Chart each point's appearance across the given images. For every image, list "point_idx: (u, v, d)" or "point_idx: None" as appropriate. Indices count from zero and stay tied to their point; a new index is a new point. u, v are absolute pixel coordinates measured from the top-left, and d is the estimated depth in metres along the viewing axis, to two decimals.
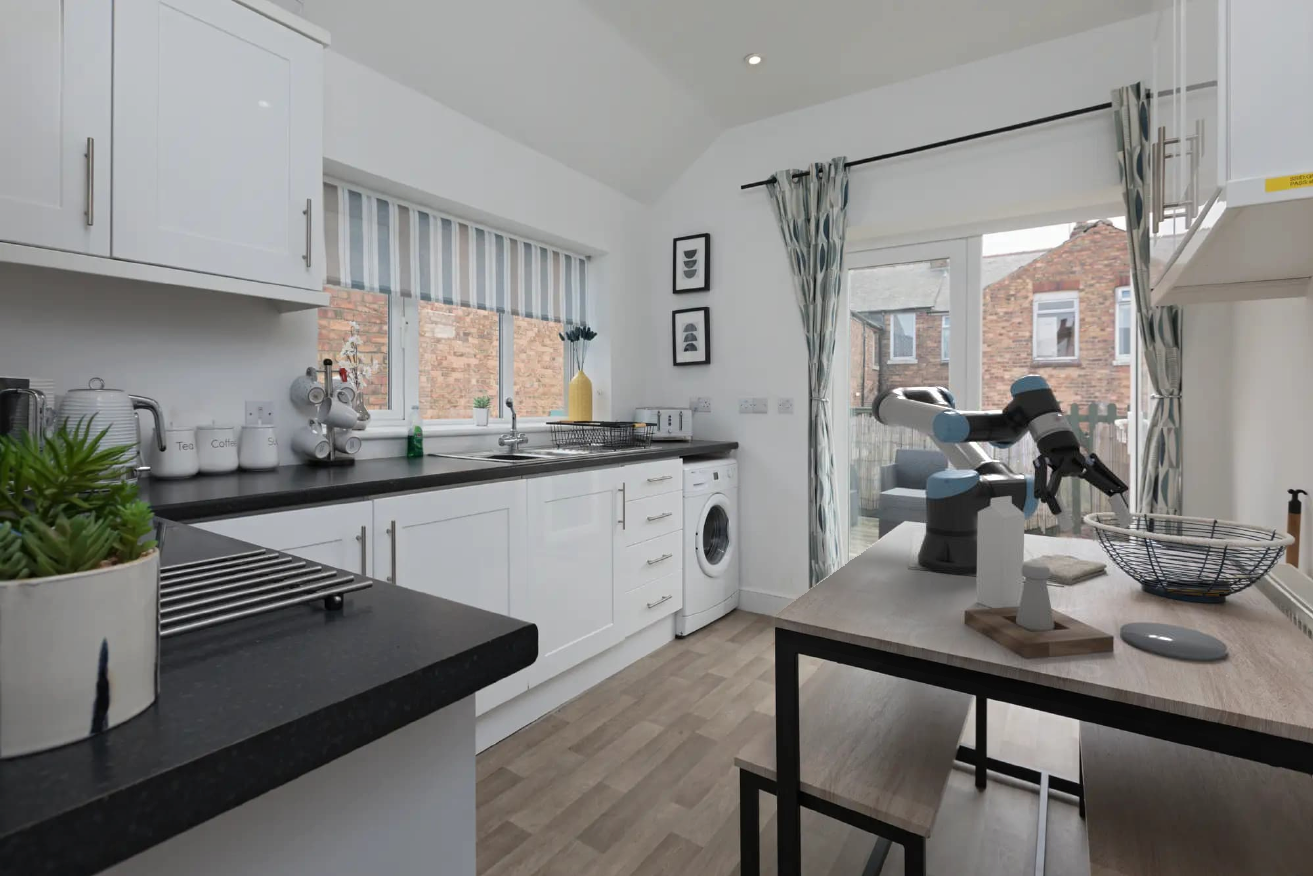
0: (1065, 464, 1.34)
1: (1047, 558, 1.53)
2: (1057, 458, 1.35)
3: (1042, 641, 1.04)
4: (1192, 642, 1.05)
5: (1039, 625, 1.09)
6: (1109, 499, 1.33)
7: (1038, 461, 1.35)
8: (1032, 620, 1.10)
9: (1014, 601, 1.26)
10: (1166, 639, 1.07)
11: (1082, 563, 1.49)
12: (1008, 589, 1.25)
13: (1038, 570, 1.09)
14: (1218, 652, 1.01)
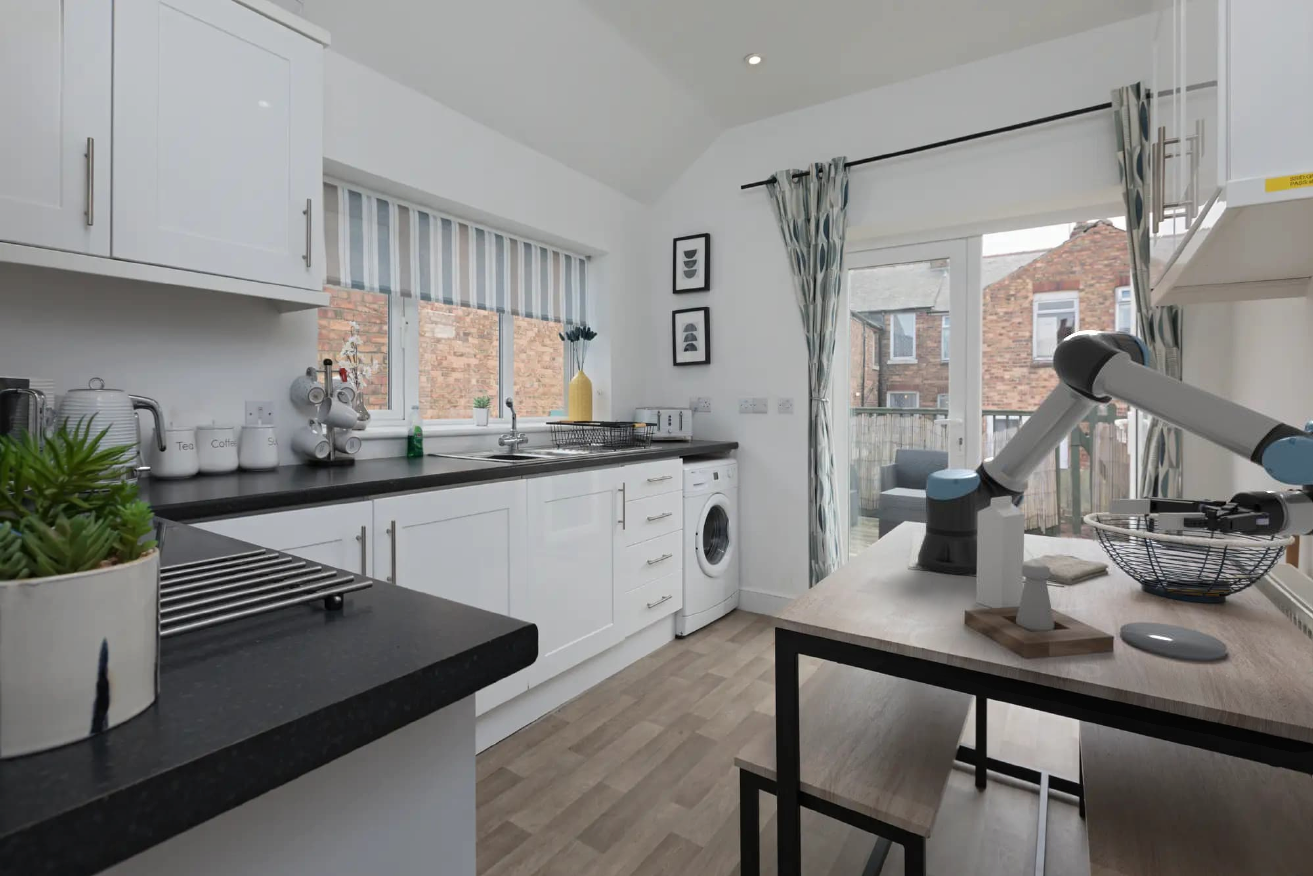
0: None
1: (1048, 558, 1.53)
2: None
3: (1042, 641, 1.04)
4: (1192, 642, 1.05)
5: (1039, 625, 1.09)
6: (1148, 502, 1.16)
7: (1263, 525, 1.02)
8: (1032, 620, 1.10)
9: (1014, 601, 1.26)
10: (1166, 639, 1.07)
11: (1083, 563, 1.49)
12: (1008, 589, 1.25)
13: (1038, 570, 1.09)
14: (1218, 652, 1.01)
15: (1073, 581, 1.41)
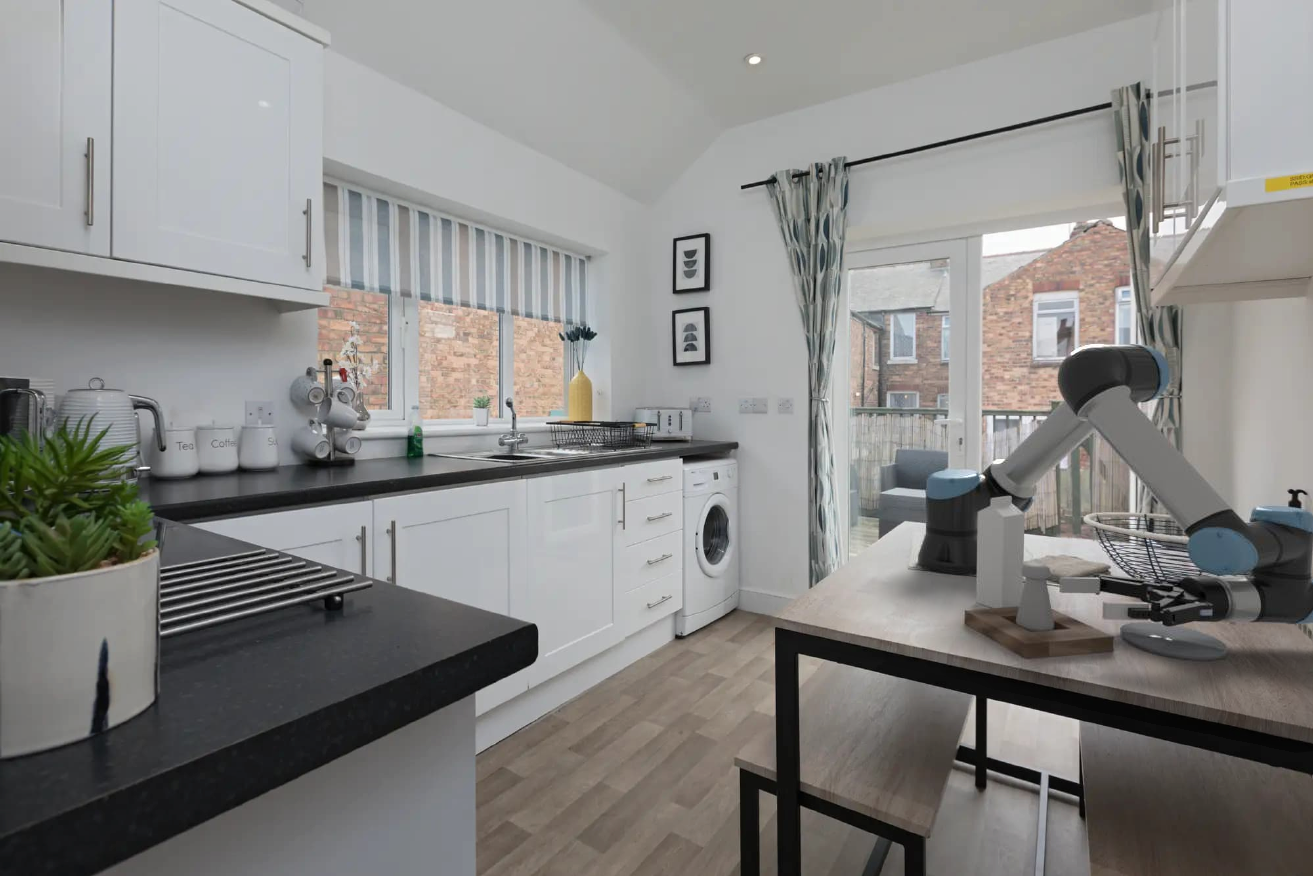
0: None
1: (1050, 558, 1.53)
2: None
3: (1042, 641, 1.04)
4: (1192, 642, 1.05)
5: (1039, 625, 1.09)
6: (1098, 581, 1.16)
7: (1206, 615, 1.02)
8: (1032, 620, 1.10)
9: (1014, 601, 1.26)
10: (1166, 639, 1.07)
11: (1085, 564, 1.48)
12: (1008, 589, 1.25)
13: (1038, 570, 1.09)
14: (1218, 652, 1.01)
15: None
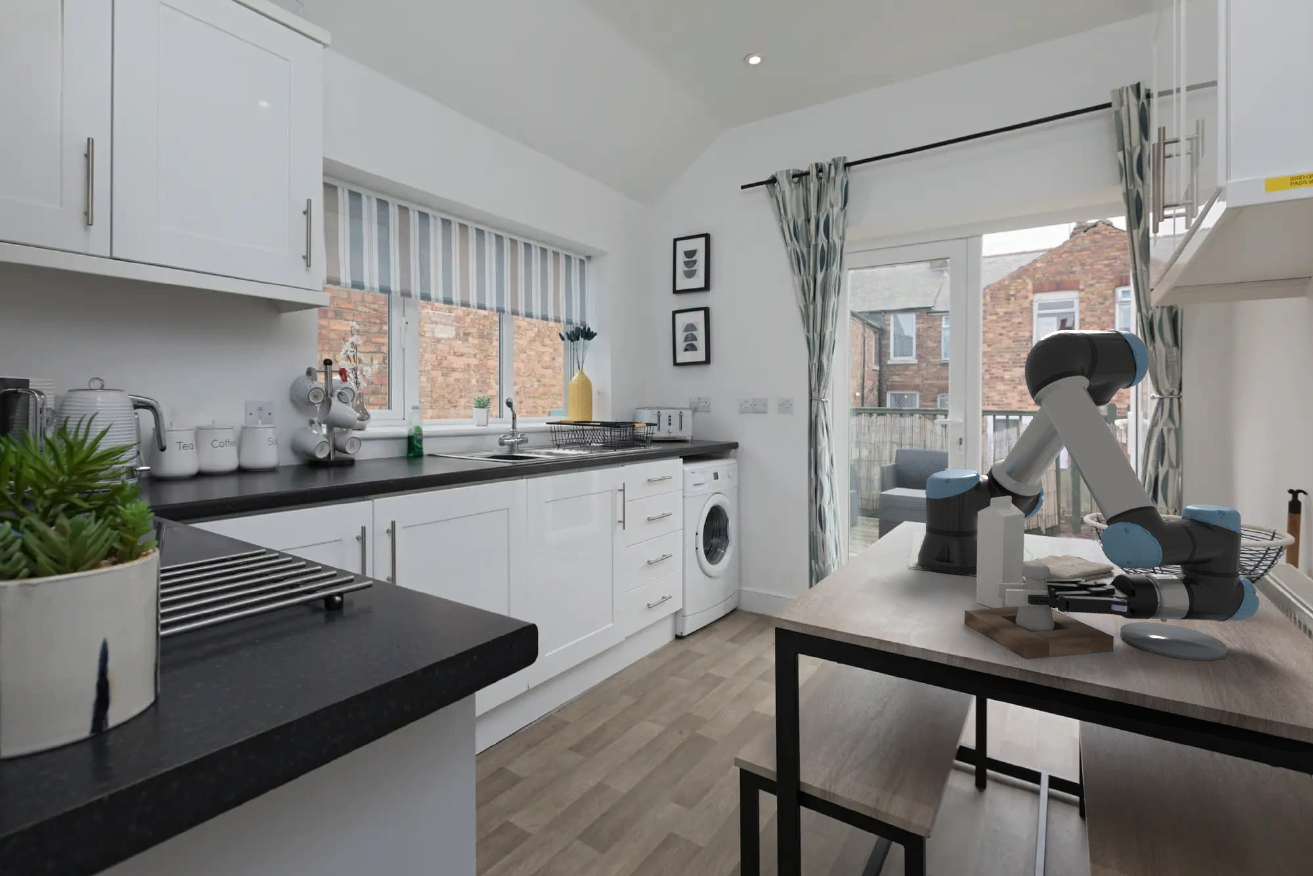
0: None
1: (1053, 558, 1.53)
2: None
3: (1042, 641, 1.04)
4: (1192, 642, 1.05)
5: (1039, 625, 1.09)
6: None
7: (1118, 611, 1.04)
8: (1032, 620, 1.10)
9: None
10: (1166, 639, 1.07)
11: (1087, 564, 1.48)
12: None
13: (1038, 570, 1.09)
14: (1218, 652, 1.01)
15: None
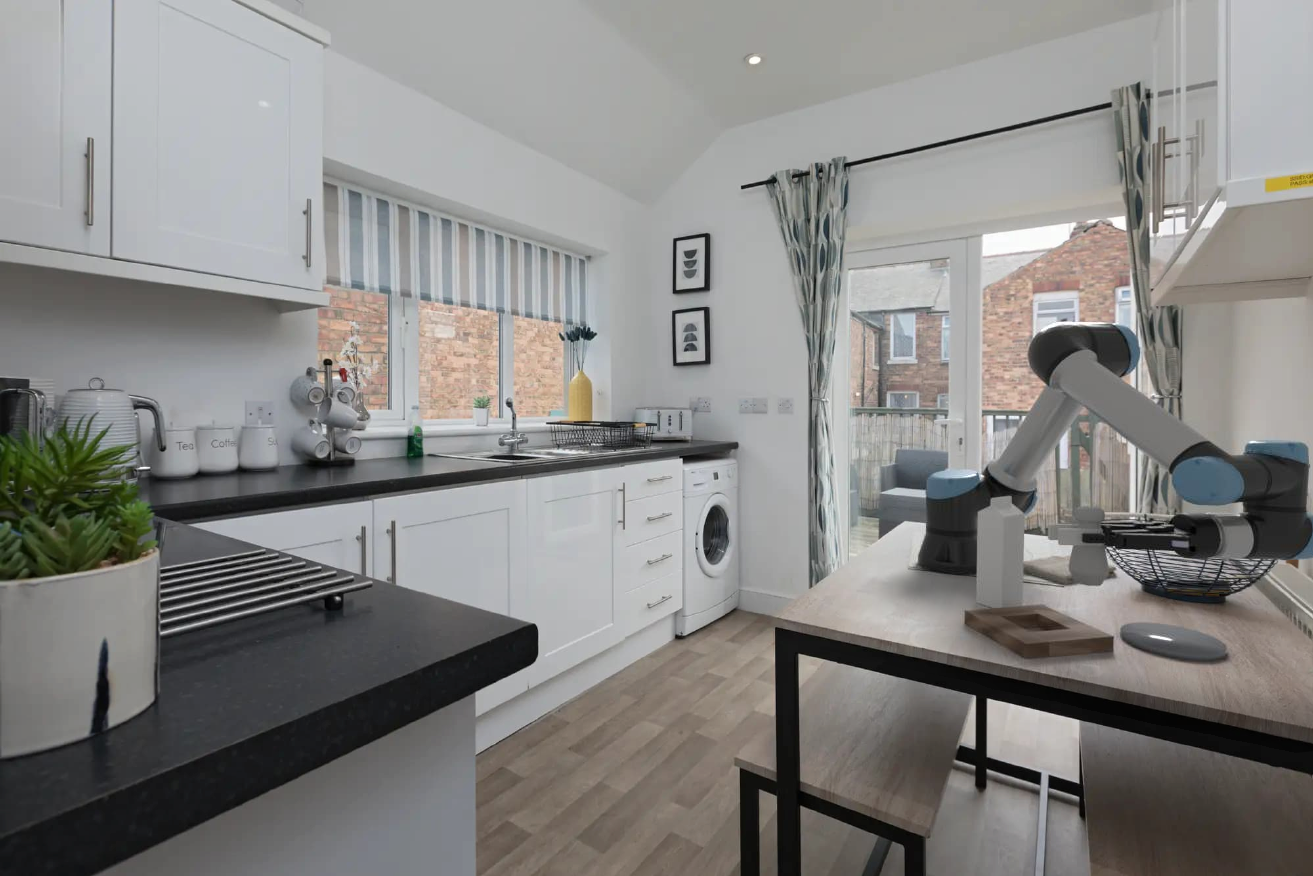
0: None
1: (1055, 558, 1.53)
2: None
3: (1042, 641, 1.04)
4: (1192, 642, 1.05)
5: (1095, 569, 1.05)
6: None
7: (1179, 547, 1.00)
8: (1088, 564, 1.06)
9: (1014, 601, 1.26)
10: (1166, 639, 1.07)
11: None
12: (1008, 589, 1.25)
13: (1093, 513, 1.06)
14: (1218, 652, 1.01)
15: (1070, 581, 1.41)
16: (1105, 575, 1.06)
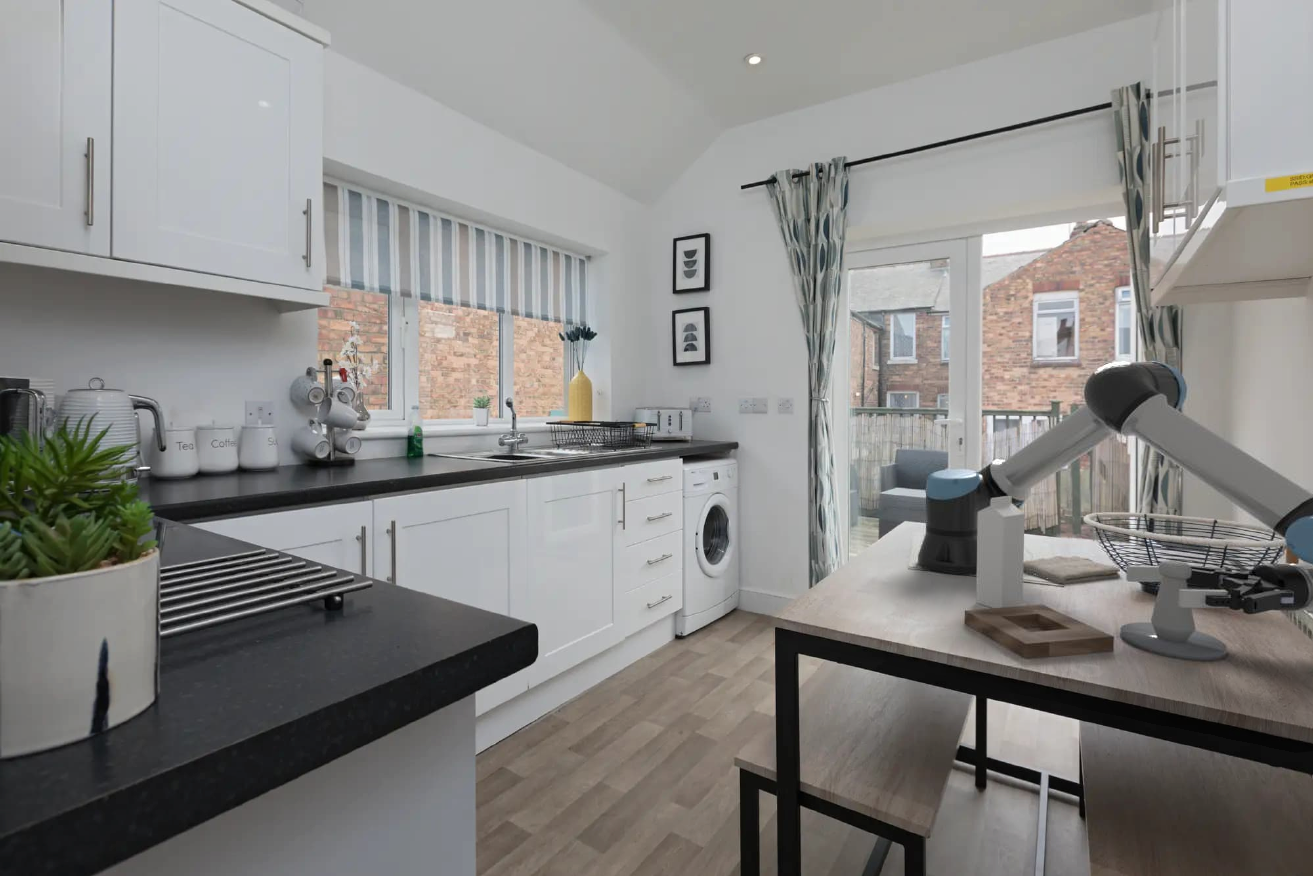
0: None
1: (1058, 559, 1.52)
2: None
3: (1042, 641, 1.04)
4: (1192, 642, 1.05)
5: (1182, 626, 1.05)
6: None
7: (1287, 603, 0.99)
8: (1175, 621, 1.05)
9: (1014, 601, 1.26)
10: None
11: (1092, 565, 1.47)
12: (1008, 589, 1.25)
13: (1181, 569, 1.05)
14: (1218, 652, 1.01)
15: (1068, 581, 1.41)
16: (1192, 632, 1.05)
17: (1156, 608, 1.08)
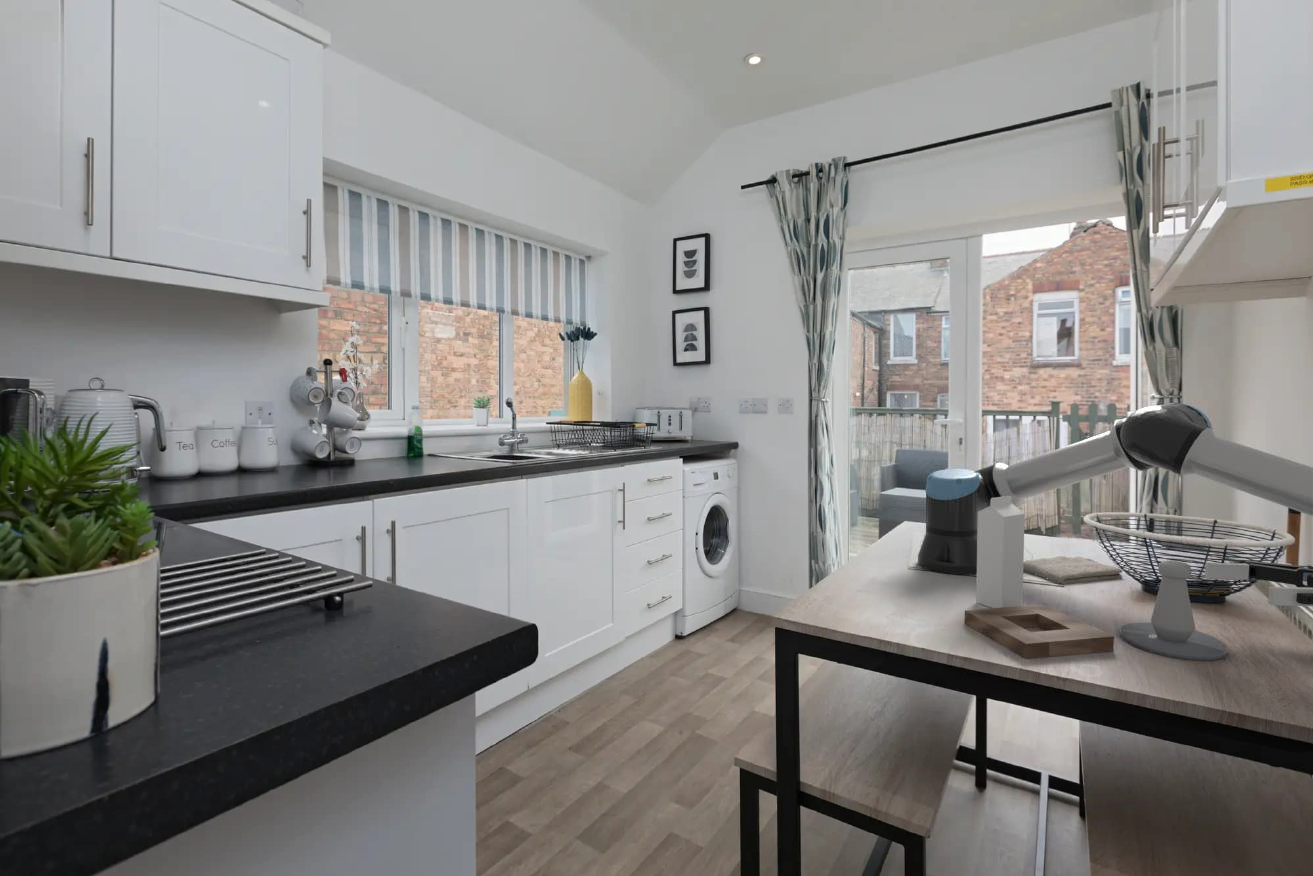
0: None
1: (1060, 559, 1.52)
2: None
3: (1042, 641, 1.04)
4: (1192, 642, 1.05)
5: (1182, 626, 1.05)
6: (1247, 567, 1.12)
7: None
8: (1175, 621, 1.05)
9: (1014, 601, 1.26)
10: None
11: (1093, 566, 1.46)
12: (1008, 589, 1.25)
13: (1181, 569, 1.05)
14: (1218, 652, 1.01)
15: (1067, 581, 1.41)
16: (1192, 632, 1.05)
17: (1156, 608, 1.08)
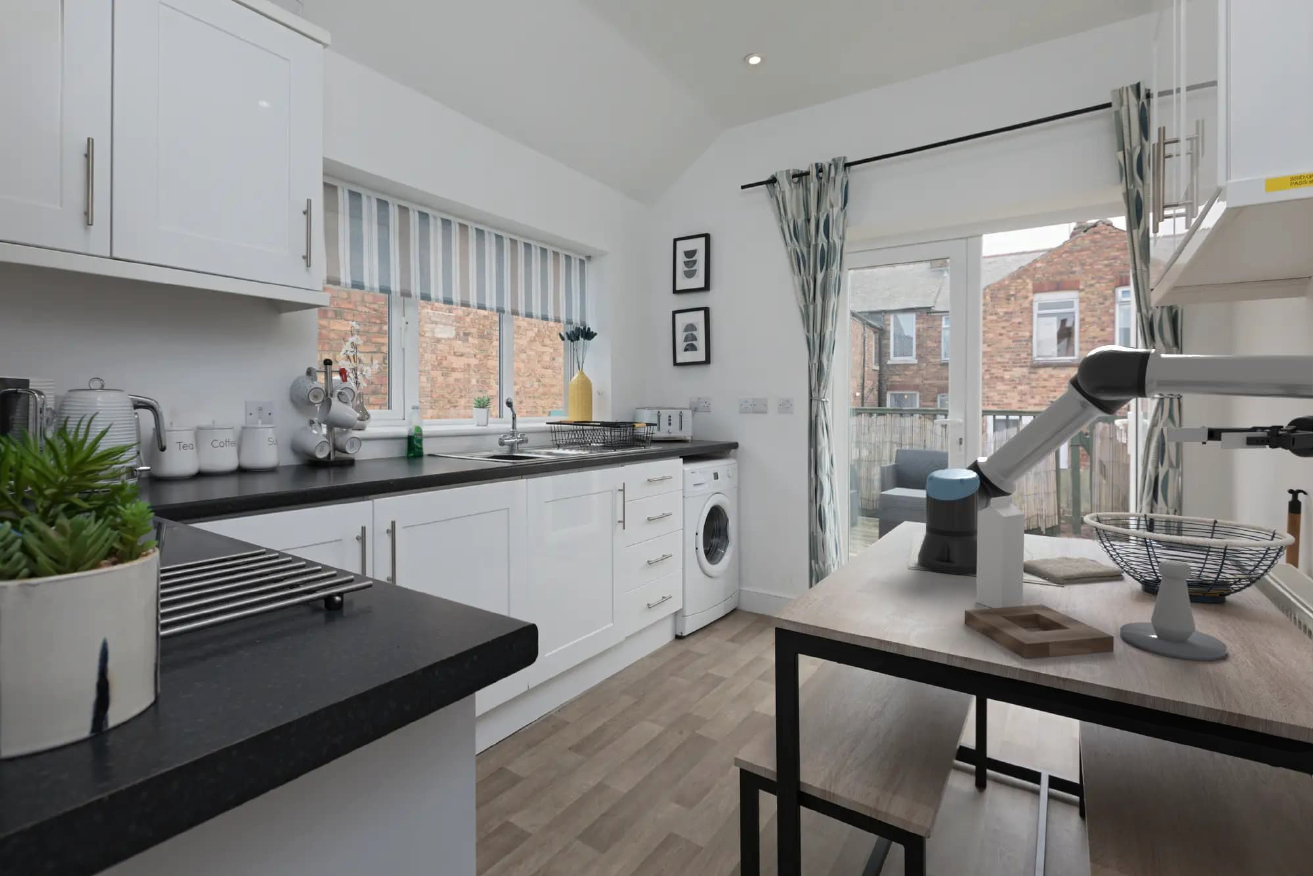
0: None
1: (1063, 559, 1.52)
2: None
3: (1042, 641, 1.04)
4: (1192, 642, 1.05)
5: (1182, 626, 1.05)
6: (1206, 430, 1.21)
7: None
8: (1175, 621, 1.05)
9: (1014, 601, 1.26)
10: None
11: (1095, 566, 1.46)
12: (1008, 589, 1.25)
13: (1181, 569, 1.05)
14: (1218, 652, 1.01)
15: (1066, 581, 1.41)
16: (1192, 632, 1.05)
17: (1156, 608, 1.08)
